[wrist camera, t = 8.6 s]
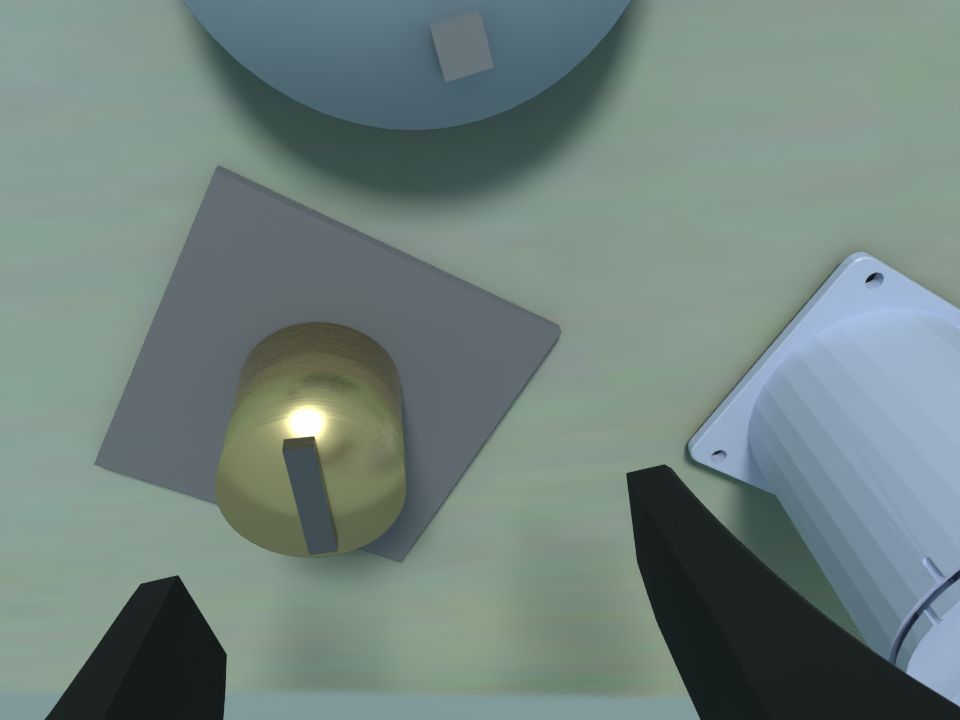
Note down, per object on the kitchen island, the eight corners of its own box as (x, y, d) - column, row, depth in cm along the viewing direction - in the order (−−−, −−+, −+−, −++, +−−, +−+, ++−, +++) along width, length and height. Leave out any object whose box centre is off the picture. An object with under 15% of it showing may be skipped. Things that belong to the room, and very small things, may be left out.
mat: (558, 325, 23) (561, 332, 22) (400, 553, 27) (400, 562, 26) (218, 165, 19) (215, 170, 19) (98, 455, 23) (93, 464, 23)
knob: (408, 441, 24) (416, 557, 20) (258, 459, 23) (236, 580, 20) (390, 313, 21) (395, 417, 17) (221, 332, 21) (189, 442, 17)
